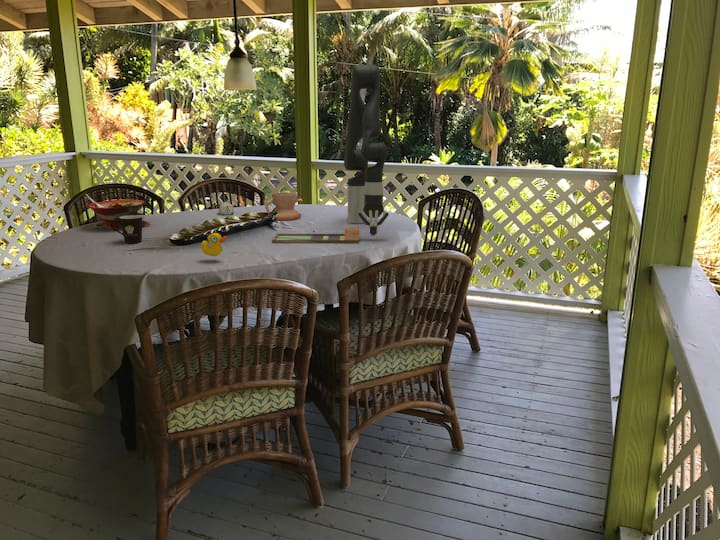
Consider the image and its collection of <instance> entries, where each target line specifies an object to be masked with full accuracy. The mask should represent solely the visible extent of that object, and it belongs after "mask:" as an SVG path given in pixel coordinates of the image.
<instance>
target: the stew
mask: <svg viewBox="0 0 720 540" xmlns="http://www.w3.org/2000/svg"><path fill="white" fill-rule="evenodd" d="M84 194H85V195H86V197H87V199H88V200H89V201H91V203H90V204H88V208H89V209H90V210H92V211H93V212H94V213H95V214H96V215H97V216H98V218H100V220H101V221H102V222H99V223H96V224H94V225H93V226H94V228H98V229H103V230H104V229H106V230H107V229H110V230H113V232H116V231H115V230H114V229H113V228H112V227H111V222H112V221H114V220H118V221H120V218H119V217H122V216H129V215H137V212H139V211H140V210H141V209H142V208H143V206H144V205H145V203H146V201H145V200H142V199H141V200H139V199H130V198H123V199H112V200H104V201H99V202H96V201H94V200H93V199H92V197H90V196H89V195H88V194H87V193H84ZM144 218H145V216H142V219H144ZM103 225H107V227H103ZM150 225H151V222H150V221H147V220H142V228H148V227H149V226H150ZM112 226H113V227H114V228H115V229H116V230H120V229H121V230H122V227H121V225H120V223H119V222H113V224H112Z"/></svg>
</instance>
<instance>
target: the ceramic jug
mask: <svg viewBox="0 0 720 540" xmlns="http://www.w3.org/2000/svg"><path fill="white" fill-rule="evenodd" d="M271 197H272V199H268V200H267V201H266V202H265V204H264V205H265V210H266V212H267V214H268V215H269V213H271V211H270V209H269V204H273V205H274V206H275V208H276V209H274V211H276V212H277V213H278V216H277V219H276V220H275V221H278V222H291V221H297V220H300V219H301V216H302V214H301V213H300V212H299V211H298V210H296V209H295V206H296V204H297V203H299V202H301V203H302V202H303V199H302V198H298V193H297V192H293V191H290V192H288V191H287V192H286V191H284V192H283V191H282V192H272V193H271Z"/></svg>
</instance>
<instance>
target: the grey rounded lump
mask: <svg viewBox="0 0 720 540" xmlns="http://www.w3.org/2000/svg"><path fill="white" fill-rule="evenodd" d="M235 206H236V204H232V203H230V202H228V201H227V200H226V199H225V200H224V202H222V203H221V204H219V205H218V206H217V207H218V213H217V215H221V216H230V215H232V216H233V215H234V213H235V212H234V207H235Z"/></svg>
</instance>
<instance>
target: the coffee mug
mask: <svg viewBox="0 0 720 540" xmlns="http://www.w3.org/2000/svg"><path fill="white" fill-rule="evenodd" d="M119 218H120V221H118V220H114V221H112V222H111V227H112V228H113V229H112V230H113V231H114V230H115V231H114V232H117V233H119V234H121V235H122V236H123V240H124V243H126V244H136V243H141V242H142V241H143V226H142V221H143V215H137V214H135V215H129V216H122V217H119ZM113 222H119V223H120V225H121V227H122V228H121V230H122V231H120V230H119V229H117V230H116V229H115V228H114V227H113V226H112V224H113Z"/></svg>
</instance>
